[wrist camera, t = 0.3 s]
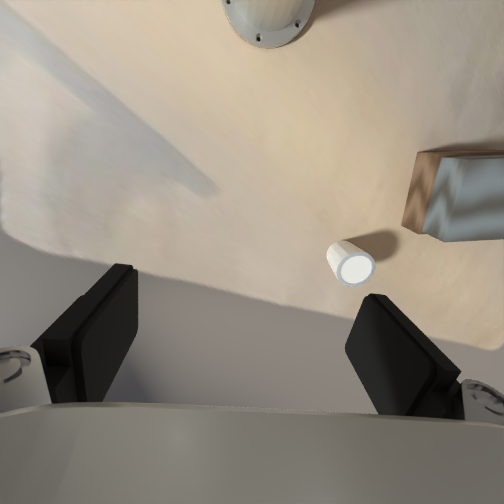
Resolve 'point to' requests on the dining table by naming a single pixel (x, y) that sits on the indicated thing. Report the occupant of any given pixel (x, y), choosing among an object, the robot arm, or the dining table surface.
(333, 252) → the white grey-rimmed cylinder
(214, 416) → the robot arm
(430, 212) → the grey and wood block
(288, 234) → the dining table surface
